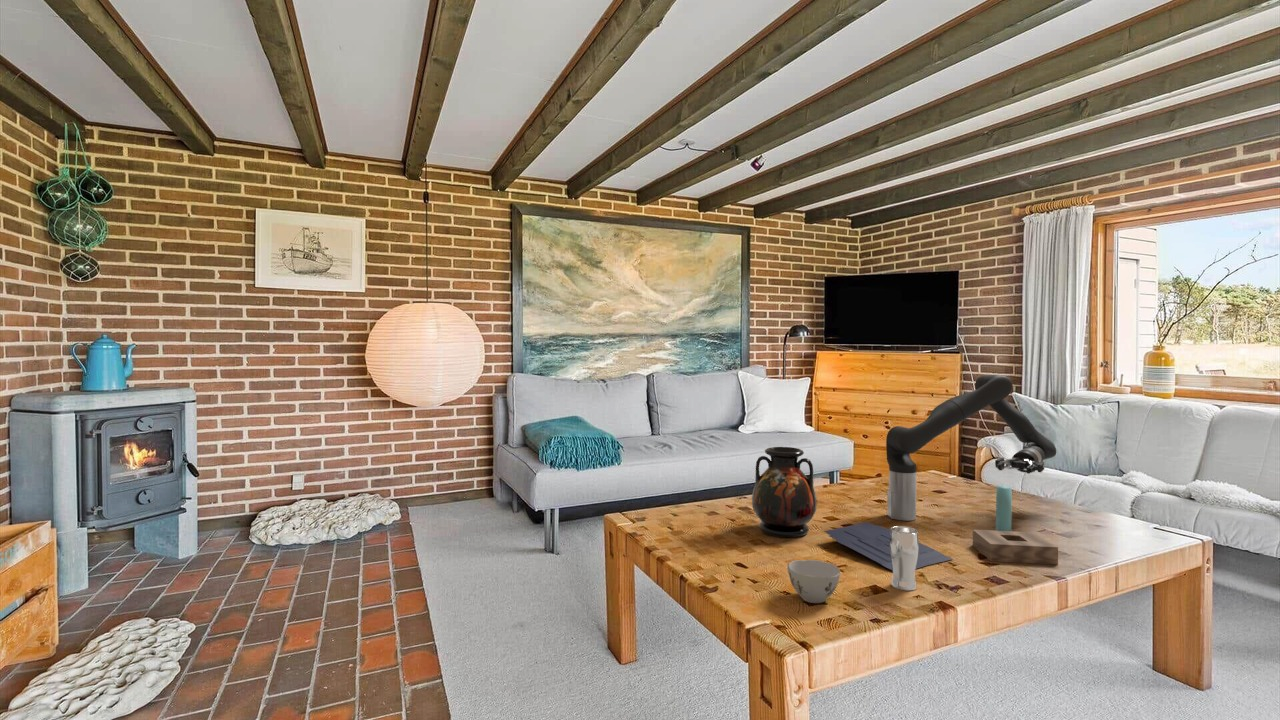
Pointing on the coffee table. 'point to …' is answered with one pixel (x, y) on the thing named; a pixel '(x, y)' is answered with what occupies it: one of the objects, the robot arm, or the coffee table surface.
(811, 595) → the teacup
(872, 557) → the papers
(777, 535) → the amphora vase
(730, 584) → the coffee table surface
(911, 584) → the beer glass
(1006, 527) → the teal pin
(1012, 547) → the walnut block
